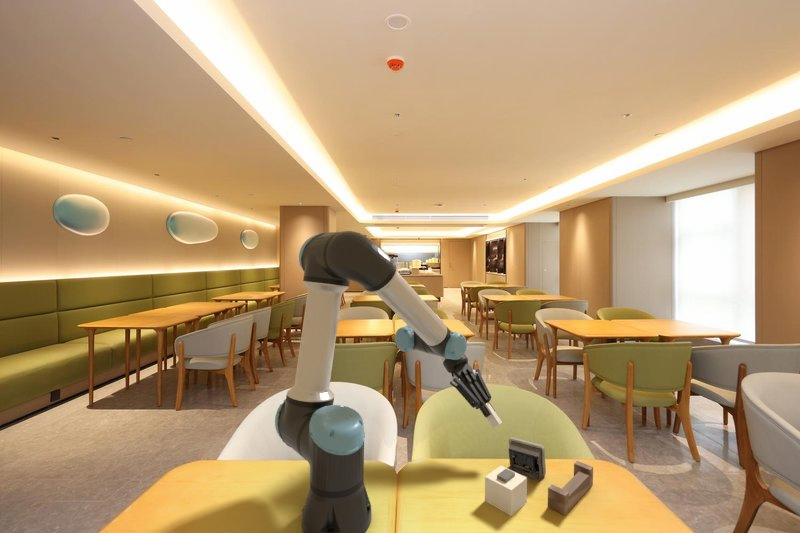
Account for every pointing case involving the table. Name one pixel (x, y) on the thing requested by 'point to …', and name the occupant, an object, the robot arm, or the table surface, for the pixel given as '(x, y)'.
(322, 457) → the robot arm
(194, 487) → the table surface
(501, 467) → the socket block
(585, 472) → the bracket
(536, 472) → the electrical switch
